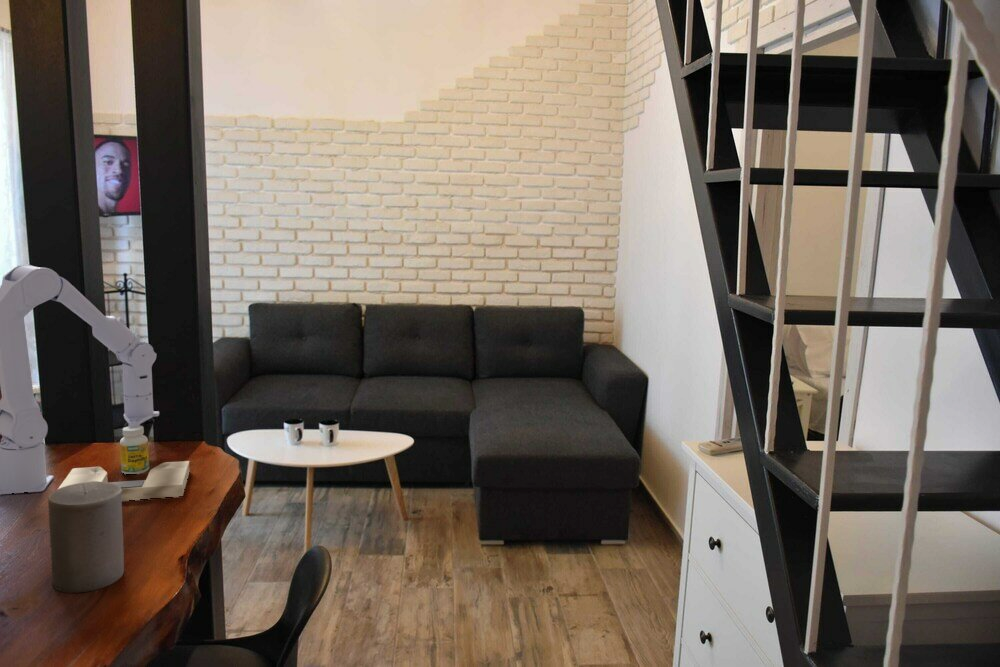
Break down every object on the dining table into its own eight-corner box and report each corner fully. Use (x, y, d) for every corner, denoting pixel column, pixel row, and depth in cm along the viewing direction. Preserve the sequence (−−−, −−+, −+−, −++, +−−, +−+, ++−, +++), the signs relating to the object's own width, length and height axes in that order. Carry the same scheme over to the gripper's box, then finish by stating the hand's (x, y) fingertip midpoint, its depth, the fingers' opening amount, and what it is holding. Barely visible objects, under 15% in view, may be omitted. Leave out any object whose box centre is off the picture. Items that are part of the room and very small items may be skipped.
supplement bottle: (144, 465, 158) (142, 422, 156) (153, 471, 154) (151, 428, 153) (117, 470, 154) (115, 427, 153) (126, 477, 150) (123, 433, 149)
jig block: (54, 506, 135) (53, 493, 134) (73, 479, 148) (72, 467, 147) (182, 496, 142) (182, 483, 141) (189, 472, 155) (189, 460, 154)
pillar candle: (47, 598, 104) (41, 500, 102) (57, 567, 113) (52, 475, 110) (122, 587, 108) (119, 492, 105) (127, 558, 117) (124, 470, 114)
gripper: (153, 401, 153) (156, 462, 156) (162, 385, 167) (164, 441, 169) (116, 403, 151) (119, 464, 153) (128, 386, 165) (131, 443, 167)
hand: (141, 452), depth 161 cm, fingers closed
